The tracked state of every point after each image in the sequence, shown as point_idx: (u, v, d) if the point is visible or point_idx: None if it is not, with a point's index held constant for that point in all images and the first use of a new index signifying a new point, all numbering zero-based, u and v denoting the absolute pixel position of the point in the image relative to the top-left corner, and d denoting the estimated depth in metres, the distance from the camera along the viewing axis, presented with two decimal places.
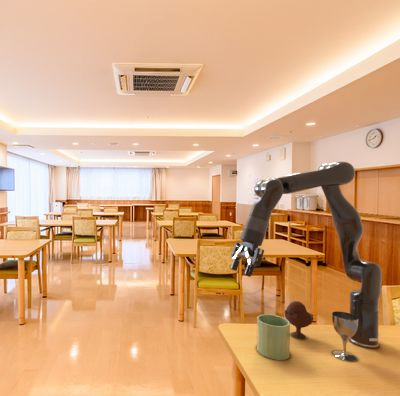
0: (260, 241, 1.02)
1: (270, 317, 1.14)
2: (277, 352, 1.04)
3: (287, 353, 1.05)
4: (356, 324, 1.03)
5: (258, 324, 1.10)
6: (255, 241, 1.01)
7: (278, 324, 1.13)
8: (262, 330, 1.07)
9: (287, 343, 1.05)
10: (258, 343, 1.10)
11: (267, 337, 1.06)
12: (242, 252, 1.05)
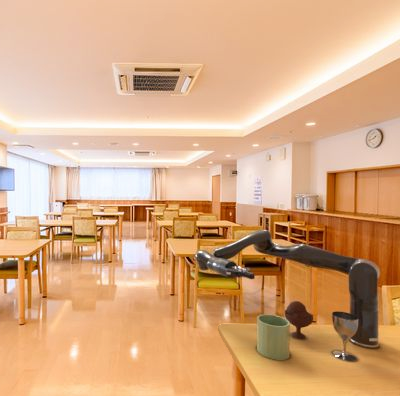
0: None
1: (270, 317, 1.14)
2: (277, 352, 1.04)
3: (287, 353, 1.05)
4: (356, 324, 1.03)
5: (258, 324, 1.10)
6: None
7: (278, 324, 1.13)
8: (262, 330, 1.07)
9: (287, 343, 1.05)
10: (258, 343, 1.10)
11: (267, 337, 1.06)
12: None
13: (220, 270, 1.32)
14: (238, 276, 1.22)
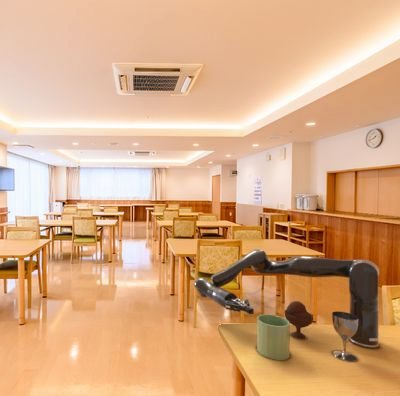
0: None
1: (270, 317, 1.14)
2: (277, 352, 1.04)
3: (287, 353, 1.05)
4: (356, 324, 1.03)
5: (258, 324, 1.10)
6: None
7: (278, 324, 1.13)
8: (262, 330, 1.07)
9: (287, 343, 1.05)
10: (258, 343, 1.10)
11: (267, 337, 1.06)
12: None
13: (219, 301, 1.32)
14: (237, 310, 1.22)
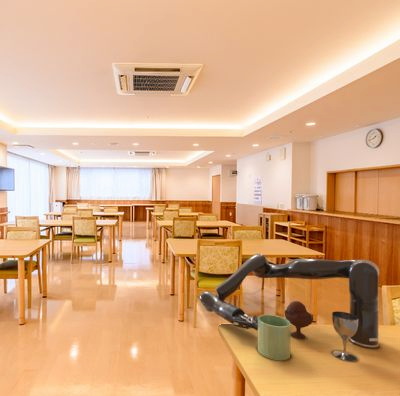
0: None
1: (271, 317, 1.14)
2: (278, 352, 1.04)
3: (288, 353, 1.05)
4: (356, 324, 1.03)
5: (259, 324, 1.09)
6: None
7: (279, 324, 1.13)
8: (262, 331, 1.07)
9: (288, 343, 1.05)
10: (259, 343, 1.09)
11: (268, 337, 1.05)
12: None
13: (227, 317, 1.28)
14: (246, 327, 1.18)
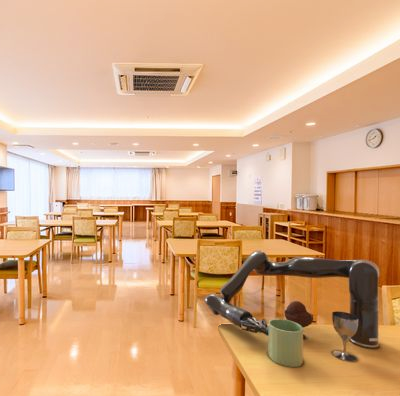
0: None
1: (280, 321, 1.10)
2: (293, 358, 1.00)
3: (301, 358, 1.01)
4: (356, 324, 1.03)
5: (271, 330, 1.05)
6: None
7: (288, 328, 1.09)
8: (276, 337, 1.02)
9: (302, 348, 1.01)
10: (271, 350, 1.04)
11: (282, 344, 1.01)
12: None
13: (234, 321, 1.23)
14: (254, 331, 1.14)
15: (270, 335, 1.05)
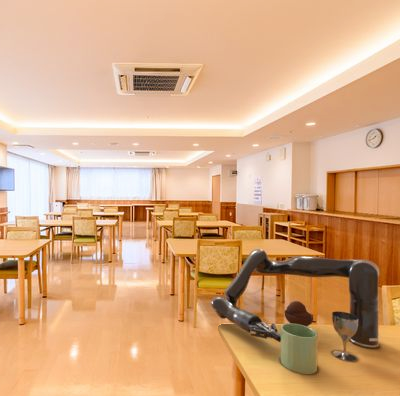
0: None
1: (290, 326, 1.06)
2: (310, 365, 0.96)
3: None
4: (356, 324, 1.03)
5: (286, 337, 1.00)
6: None
7: (298, 333, 1.06)
8: (292, 344, 0.98)
9: None
10: (286, 358, 0.99)
11: (299, 351, 0.96)
12: None
13: (242, 325, 1.19)
14: (264, 337, 1.09)
15: (284, 342, 1.00)
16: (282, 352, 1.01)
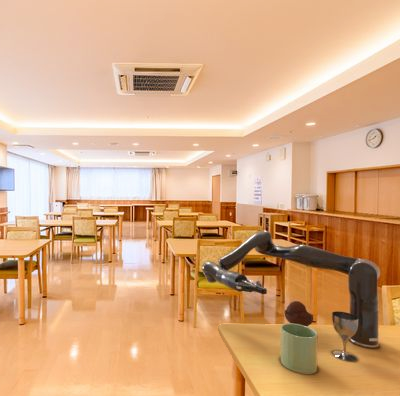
0: None
1: (290, 326, 1.06)
2: (309, 365, 0.96)
3: None
4: (356, 324, 1.03)
5: (286, 337, 1.00)
6: None
7: (298, 333, 1.06)
8: (292, 344, 0.98)
9: None
10: (286, 358, 0.99)
11: (299, 351, 0.96)
12: None
13: (229, 284, 1.26)
14: (249, 291, 1.16)
15: (284, 342, 1.00)
16: (282, 352, 1.01)
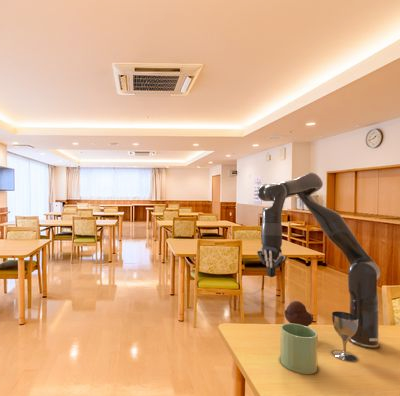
0: None
1: (290, 326, 1.06)
2: (309, 365, 0.96)
3: None
4: (356, 324, 1.03)
5: (286, 337, 1.00)
6: None
7: (298, 333, 1.06)
8: (292, 344, 0.98)
9: None
10: (286, 358, 0.99)
11: (299, 351, 0.96)
12: None
13: (277, 238, 1.12)
14: (276, 266, 1.12)
15: (284, 342, 1.00)
16: (282, 352, 1.01)
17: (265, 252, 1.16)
